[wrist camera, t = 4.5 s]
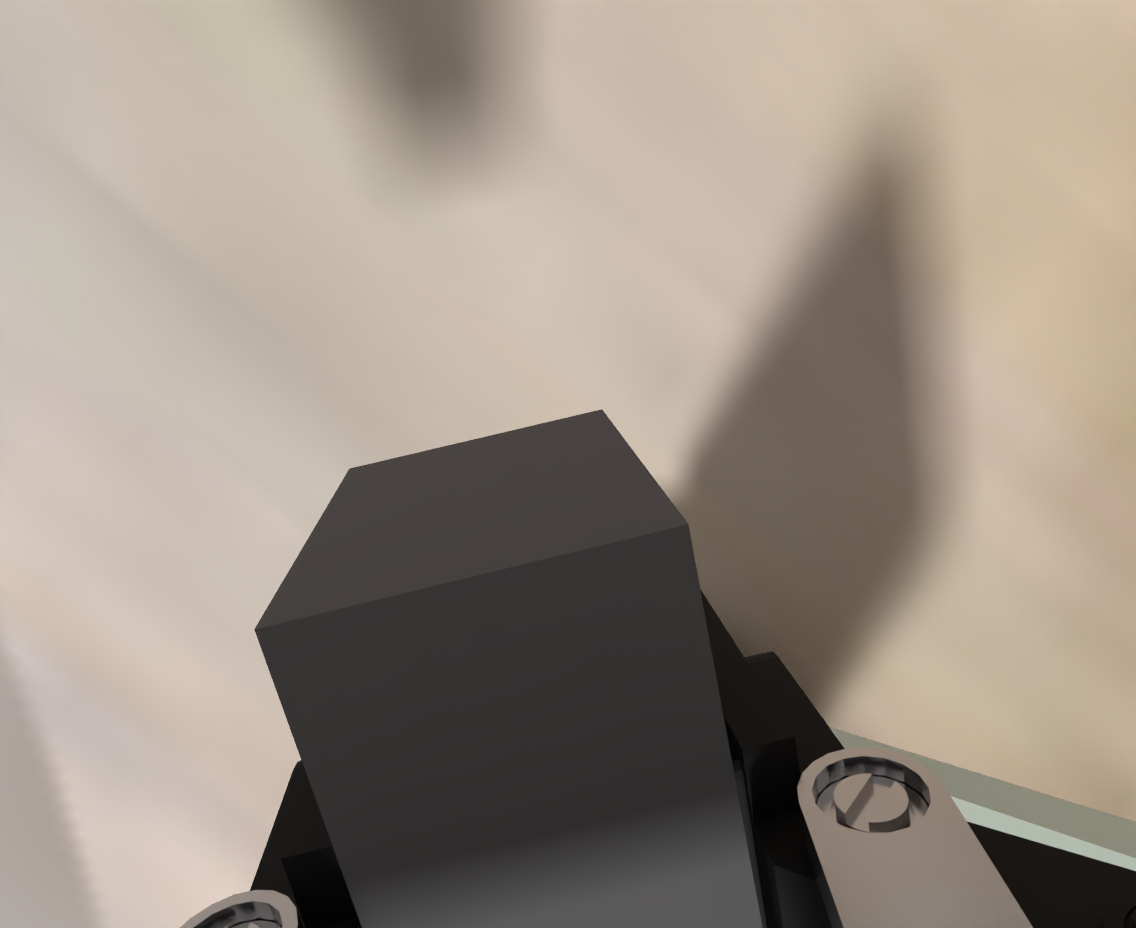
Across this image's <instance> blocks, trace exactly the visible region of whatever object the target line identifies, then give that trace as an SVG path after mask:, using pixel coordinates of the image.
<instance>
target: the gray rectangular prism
mask: <svg viewBox="0 0 1136 928" xmlns="http://www.w3.org/2000/svg"><path fill="white" fill-rule="evenodd" d="M255 632H256V635H257V638H258V641H259V643H260V646H261V649H262V652H263V654H264V657H265V660H266V663H267V665H268V668H269V671H270V674H271V677H272V679H273V682H274V685H275V688H276V690H277V693H278V696H279V699H280V702H281V704H282V707H283V710H284V713H285V715H286V718H287V721H288V724H289V726H290V729H291V732H292V735H293V738H294V740H295V743H296V746H297V749H298V751H299V754H300V757H301V760H302V763H303V765H304V768H305V771H306V774H307V776H308V779H309V782H310V785H311V788H312V790H313V793H314V796H315V799H316V801H317V804H318V807H319V810H320V812H321V815H322V818H323V821H324V824H325V826H326V829H327V832H328V835H329V837H330V840H331V843H332V846H333V849H334V851H335V854H336V857H337V860H338V862H339V865H340V868H341V871H342V873H343V876H344V879H345V882H346V885H347V887H348V890H349V893H350V896H351V898H352V901H353V904H354V907H355V910H356V912H357V915H358V918H359V921H360V923H361V926H362V928H762V922H761V917H760V911H759V906H758V900H757V895H756V890H755V884H754V879H753V873H752V868H751V862H750V857H749V852H748V846H747V841H746V835H745V830H744V825H743V819H742V814H741V808H740V803H739V797H738V792H737V787H736V781H735V776H734V770H733V765H732V759H731V754H730V749H729V743H728V738H727V732H726V727H725V722H724V716H723V711H722V705H721V700H720V694H719V689H718V684H717V678H716V673H715V667H714V662H713V656H712V651H711V646H710V640H709V635H708V629H707V624H706V618H705V613H704V608H703V602H702V597H701V591H700V586H699V581H698V575H697V570H696V564H695V559H694V553H693V548H692V543H691V537H690V532H689V526H688V523H687V522H686V521H685V519H684V518H683V517H682V515H681V514H680V513H679V511H678V510H677V509H676V507H675V506H674V505H673V503H672V502H671V501H670V499H669V498H668V497H667V495H666V494H665V493H664V491H663V490H662V489H661V487H660V486H659V485H658V483H657V482H656V481H655V479H654V478H653V477H652V475H651V474H650V473H649V471H648V470H647V469H646V467H645V466H644V465H643V463H642V462H641V461H640V459H639V458H638V457H637V455H636V454H635V453H634V451H633V450H632V449H631V447H630V446H629V445H628V443H627V442H626V441H625V439H624V438H623V437H622V435H621V434H620V433H619V431H618V430H617V429H616V427H615V426H614V425H613V423H612V422H611V421H610V419H609V418H608V417H607V415H606V414H605V413H604V411H603V410H598V411H593V412H589V413H585V414H581V415H576V416H572V417H568V418H564V419H559V420H555V421H551V422H547V423H542V424H538V425H534V426H530V427H525V428H521V429H517V430H512V431H508V432H504V433H500V434H495V435H491V436H487V437H483V438H478V439H474V440H470V441H466V442H461V443H457V444H453V445H449V446H444V447H440V448H436V449H432V450H427V451H423V452H419V453H415V454H410V455H406V456H402V457H398V458H393V459H389V460H385V461H380V462H376V463H372V464H368V465H363V466H359V467H355V468H351V469H349V471H348V472H347V474H346V476H345V477H344V479H343V481H342V482H341V484H340V486H339V487H338V489H337V491H336V492H335V494H334V496H333V498H332V499H331V501H330V503H329V504H328V506H327V508H326V509H325V511H324V513H323V514H322V516H321V518H320V520H319V521H318V523H317V525H316V526H315V528H314V530H313V531H312V533H311V535H310V536H309V538H308V540H307V541H306V543H305V545H304V547H303V548H302V550H301V552H300V553H299V555H298V557H297V558H296V560H295V562H294V563H293V565H292V567H291V569H290V570H289V572H288V574H287V575H286V577H285V579H284V580H283V582H282V584H281V585H280V587H279V589H278V591H277V592H276V594H275V596H274V597H273V599H272V601H271V602H270V604H269V606H268V607H267V609H266V611H265V612H264V614H263V616H262V618H261V619H260V621H259V623H258V624H257V626H256V628H255Z"/></svg>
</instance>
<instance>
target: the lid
mask: <svg viewBox="0 0 1136 928" xmlns="http://www.w3.org/2000/svg"><path fill="white" fill-rule="evenodd" d="M829 728H830V729H831V730H832V732H833V733H834V735H835V736H836V737H837V739H838V740H839V741H840V743H841V744H842V746H843V747H844V748H845V749H847V748H865V747H871V748H878V749H885V750H892V751H895V752H898V753H900V754H903V755H906V756H909V757H912V758H914V759H915V760H917V761H918V762H920V763H922V764H923V765H925V766H926V767H928V768H930V769H931V771H932V772H933V773H934V774H935V775H936V776H937V777H938V778H939V779H940V781H941V782H942V783H943V785H944V786H945V788H946V789H947V791H948V793H949V794H950V796H951V797H952V799H953V801H954V802H955V804H956V805H957V807H958V809H959V810H960V812H961V813H962V815H963V817H964V818H965V820H966V821H967V822H971V823H974V824H978V825H981V826H984V827H988V828H991V829H994V830H998V831H1001V832H1005V833H1008V834H1011V835H1015V836H1018V837H1022V838H1025V839H1028V840H1032V841H1035V842H1039V843H1042V844H1045V845H1049V846H1052V847H1056V848H1059V849H1062V850H1066V851H1069V852H1073V853H1076V854H1079V855H1083V856H1086V857H1090V858H1093V859H1096V860H1100V861H1103V862H1107V863H1110V864H1113V865H1117V866H1120V867H1123V868H1127V869H1130V870H1134V871H1136V822H1134V821H1131V820H1127V819H1124V818H1121V817H1118V816H1115V815H1111V814H1108V813H1105V812H1102V811H1098V810H1095V809H1092V808H1089V807H1086V806H1082V805H1079V804H1076V803H1073V802H1069V801H1066V800H1063V799H1060V798H1057V797H1053V796H1050V795H1047V794H1044V793H1040V792H1037V791H1034V790H1031V789H1027V788H1024V787H1021V786H1018V785H1015V784H1011V783H1008V782H1005V781H1002V780H998V779H995V778H992V777H989V776H986V775H982V774H979V773H976V772H973V771H969V770H966V769H963V768H960V767H957V766H953V765H950V764H947V763H944V762H940V761H937V760H934V759H931V758H927V757H924V756H921V755H918V754H915V753H911V752H908V751H905V750H902V749H898V748H895V747H892V746H889V745H886V744H882V743H879V742H876V741H873V740H869V739H866V738H863V737H860V736H857V735H853V734H850V733H847V732H844V731H840V730H837V729H834V728H831V727H829Z"/></svg>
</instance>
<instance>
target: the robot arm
mask: <svg viewBox="0 0 1136 928" xmlns="http://www.w3.org/2000/svg"><path fill="white" fill-rule="evenodd" d="M700 591H701V590H700ZM701 597H702V602H703V608H704V613H705V618H706V624H707V629H708V635H709V640H710V646H711V651H712V656H713V662H714V667H715V673H716V678H717V684H718V689H719V694H720V700H721V705H722V711H723V716H724V722H725V727H726V732H727V738H728V743H729V749H730V754H731V759H732V765H733V770H734V776H735V781H736V787H737V792H738V797H739V803H740V808H741V814H742V819H743V825H744V830H745V835H746V841H747V846H748V852H749V857H750V862H751V868H752V873H753V879H754V884H755V890H756V895H757V900H758V906H759V911H760V917H761V922H762V928H1136V871H1134V870H1130V869H1127V868H1123V867H1120V866H1117V865H1113V864H1110V863H1107V862H1103V861H1100V860H1096V859H1093V858H1090V857H1086V856H1083V855H1079V854H1076V853H1073V852H1069V851H1066V850H1062V849H1059V848H1056V847H1052V846H1049V845H1045V844H1042V843H1039V842H1035V841H1032V840H1028V839H1025V838H1022V837H1018V836H1015V835H1011V834H1008V833H1005V832H1001V831H998V830H994V829H991V828H988V827H984V826H981V825H978V824H974V823H971V822H967V821H966V820H965V818H964V817H963V815H962V813H961V812H960V810H959V809H958V807H957V805H956V804H955V802H954V801H953V799H952V797H951V796H950V794H949V793H948V791H947V789H946V788H945V786H944V785H943V783H942V782H941V781H940V779H939V778H938V777H937V776H936V775H935V774H934V773H933V772H932V771H931V769H930V768H928V767H926V766H925V765H923V764H922V763H920V762H918V761H917V760H915V759H914V758H912V757H909V756H906V755H903V754H900V753H898V752H895V751H892V750H885V749H878V748H871V747H865V748H847V749H845V748H844V747H843V746H842V744H841V743H840V741H839V740H838V739H837V737H836V736H835V735H834V733H833V732H832V730H831V729H830V728H829V726H828V725H827V724H826V722H825V721H824V719H823V718H822V717H821V715H820V714H819V713H818V711H817V710H816V708H815V707H814V706H813V704H812V703H811V702H810V700H809V699H808V697H807V696H806V695H805V693H804V692H803V691H802V689H801V688H800V686H799V685H798V684H797V682H796V681H795V680H794V678H793V677H792V675H791V674H790V673H789V671H788V670H787V669H786V667H785V666H784V664H783V663H782V662H781V660H780V659H779V658H778V656H777V655H776V654H775V653H774V652H766V653H762V654H757V655H753V656H749V657H744V656H743V655H742V653H741V652H740V650H739V649H738V647H737V646H736V644H735V642H734V641H733V639H732V638H731V636H730V635H729V633H728V632H727V630H726V628H725V627H724V625H723V624H722V622H721V621H720V619H719V618H718V616H717V614H716V613H715V611H714V610H713V608H712V607H711V605H710V604H709V602H708V600H707V599H706V597H705V596H704V594H703V593H702V591H701ZM180 928H362V926H361V923H360V921H359V918H358V915H357V912H356V910H355V907H354V904H353V901H352V898H351V896H350V893H349V890H348V887H347V885H346V882H345V879H344V876H343V873H342V871H341V868H340V865H339V862H338V860H337V857H336V854H335V851H334V849H333V846H332V843H331V840H330V837H329V835H328V832H327V829H326V826H325V824H324V821H323V818H322V815H321V812H320V810H319V807H318V804H317V801H316V799H315V796H314V793H313V790H312V788H311V785H310V782H309V779H308V776H307V774H306V771H305V768H304V765H303V763H302V760H301V761H299V762H297V764H296V766H295V768H294V770H293V772H292V775H291V778H290V781H289V783H288V786H287V789H286V792H285V795H284V797H283V800H282V803H281V806H280V809H279V811H278V814H277V817H276V820H275V822H274V825H273V828H272V831H271V834H270V836H269V839H268V842H267V845H266V848H265V850H264V853H263V856H262V859H261V861H260V864H259V867H258V870H257V873H256V875H255V878H254V881H253V884H252V886H251V889H250V891H248V892H244V893H240V894H235V895H233V896H230V897H228V898H226V899H223V900H221V901H219V902H216V903H214V904H212V905H210V906H209V907H207V908H206V909H204V910H203V911H201V912H200V913H198V914H196V915H195V916H193V917H192V918H190V919H189V920H188V921H187V922H186V923H185V924H184V925H182V926H181V927H180Z"/></svg>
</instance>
